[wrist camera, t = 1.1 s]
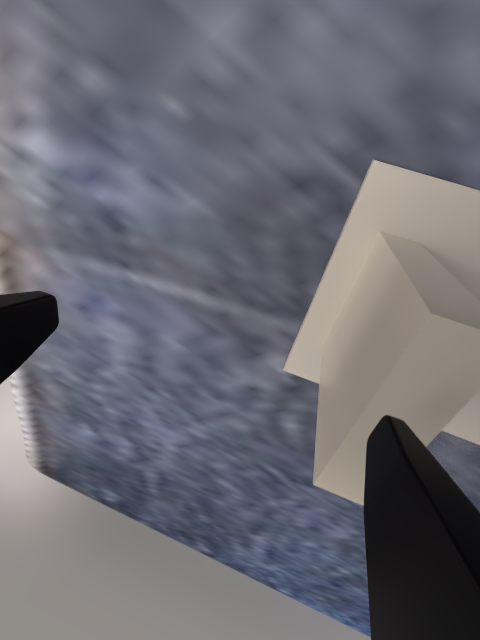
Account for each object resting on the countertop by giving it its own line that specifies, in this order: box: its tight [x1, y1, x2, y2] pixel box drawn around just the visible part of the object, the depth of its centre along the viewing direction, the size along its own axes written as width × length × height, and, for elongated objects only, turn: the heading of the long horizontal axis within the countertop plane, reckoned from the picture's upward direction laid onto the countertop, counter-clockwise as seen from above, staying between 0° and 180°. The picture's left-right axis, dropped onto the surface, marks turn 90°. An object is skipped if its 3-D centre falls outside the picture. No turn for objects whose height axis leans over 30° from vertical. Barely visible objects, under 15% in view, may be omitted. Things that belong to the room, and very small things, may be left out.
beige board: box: [283, 160, 480, 445], centre depth 17 cm, size 18×14×1 cm
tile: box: [313, 231, 480, 506], centre depth 14 cm, size 2×8×10 cm, turn 165°
